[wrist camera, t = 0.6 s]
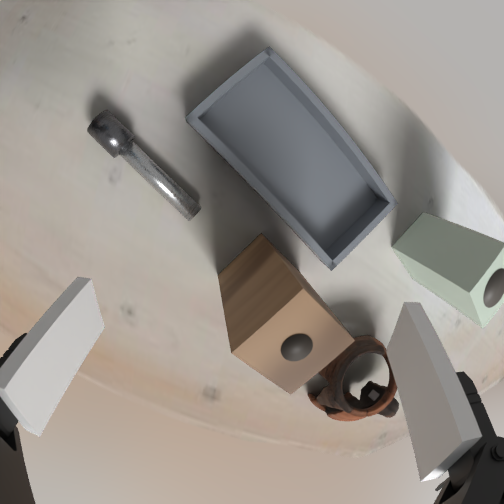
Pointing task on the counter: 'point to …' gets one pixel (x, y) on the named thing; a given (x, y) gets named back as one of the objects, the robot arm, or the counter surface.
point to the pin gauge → (140, 161)
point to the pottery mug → (372, 394)
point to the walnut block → (278, 317)
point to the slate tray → (294, 156)
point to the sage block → (455, 265)
